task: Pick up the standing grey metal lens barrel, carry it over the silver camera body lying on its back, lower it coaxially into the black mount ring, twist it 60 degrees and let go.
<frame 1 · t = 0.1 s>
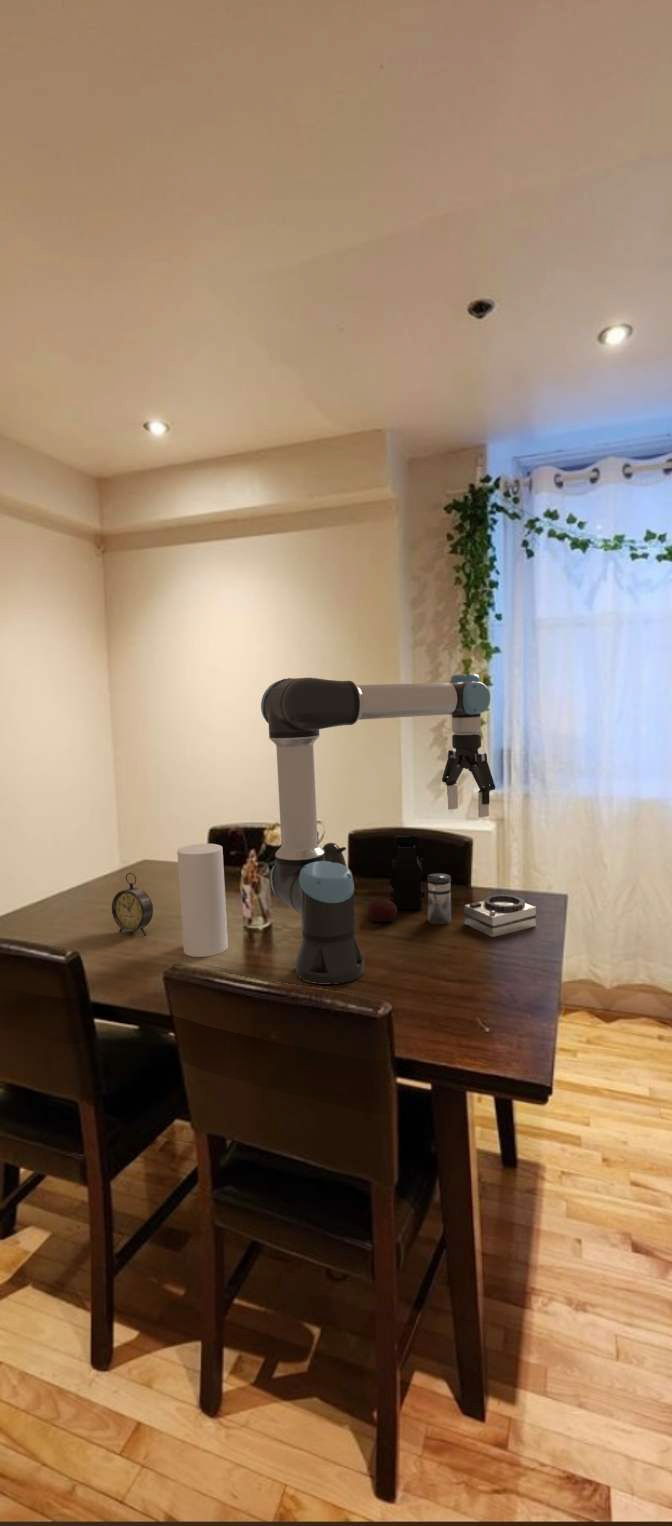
hand: (467, 812, 180), 28 cm above the table, fingers open, 13 cm apart
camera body: (499, 925, 174), on the table
lens: (439, 920, 178), on the table
camera: (407, 903, 194), on the table
tall pillar cylinder: (206, 949, 165), on the table
alarm clock: (135, 933, 178), on the table
potato: (381, 922, 180), on the table
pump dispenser: (332, 891, 208), on the table
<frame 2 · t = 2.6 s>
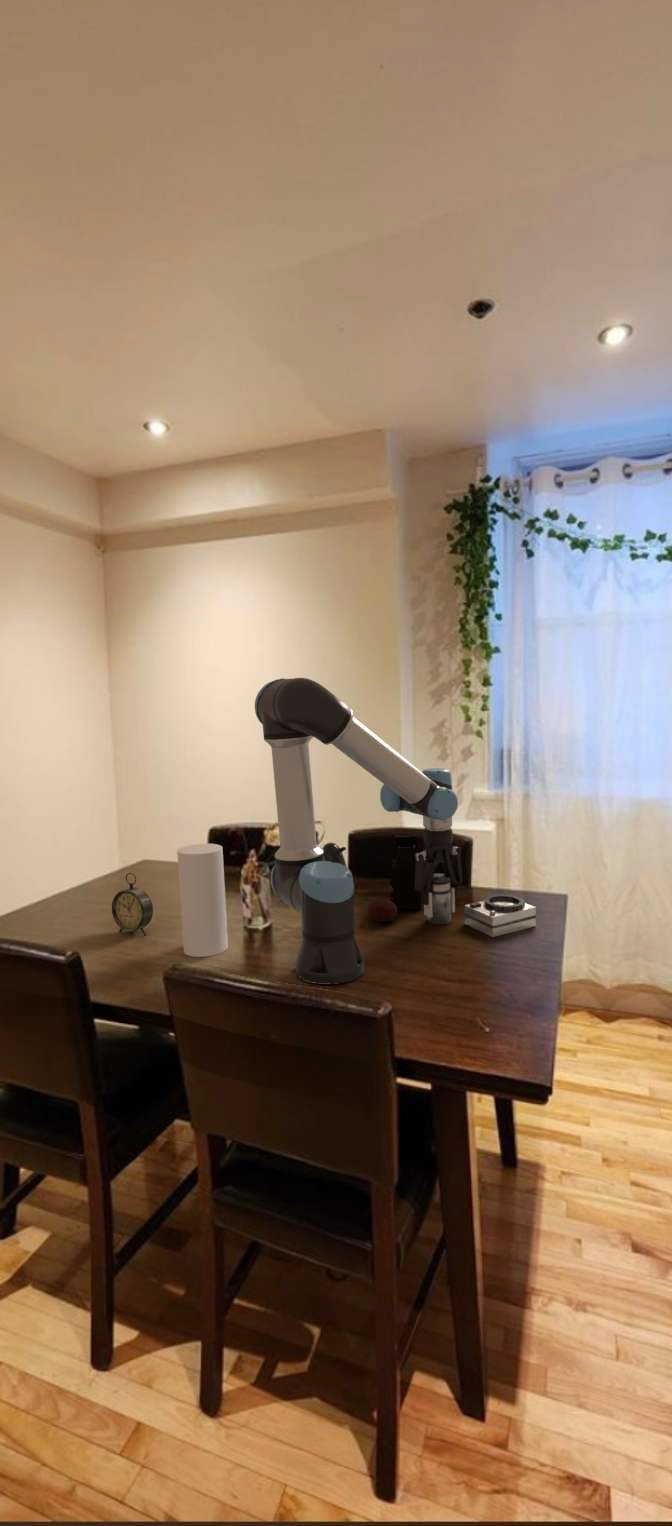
hand: (439, 913, 178), 2 cm above the table, fingers closed on lens, 6 cm apart
lens: (439, 920, 178), on the table, touching gripper
everything else where it was.
when the fingers open (7 cm above the table, at t = 8.0 s): lens stays where it is, resting on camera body.
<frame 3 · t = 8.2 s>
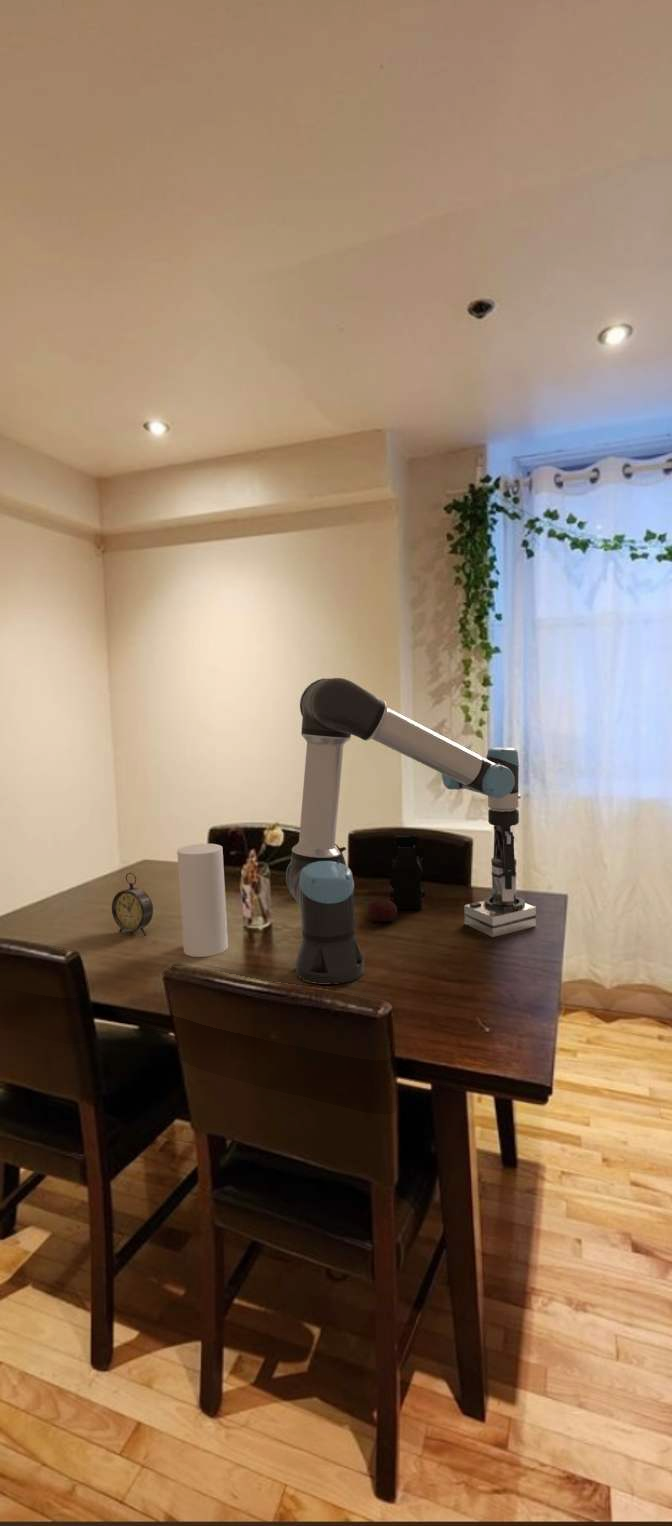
hand: (504, 894, 173), 8 cm above the table, fingers open, 9 cm apart
lens: (504, 905, 174), point 5 cm above the table, touching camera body
everything else where it was.
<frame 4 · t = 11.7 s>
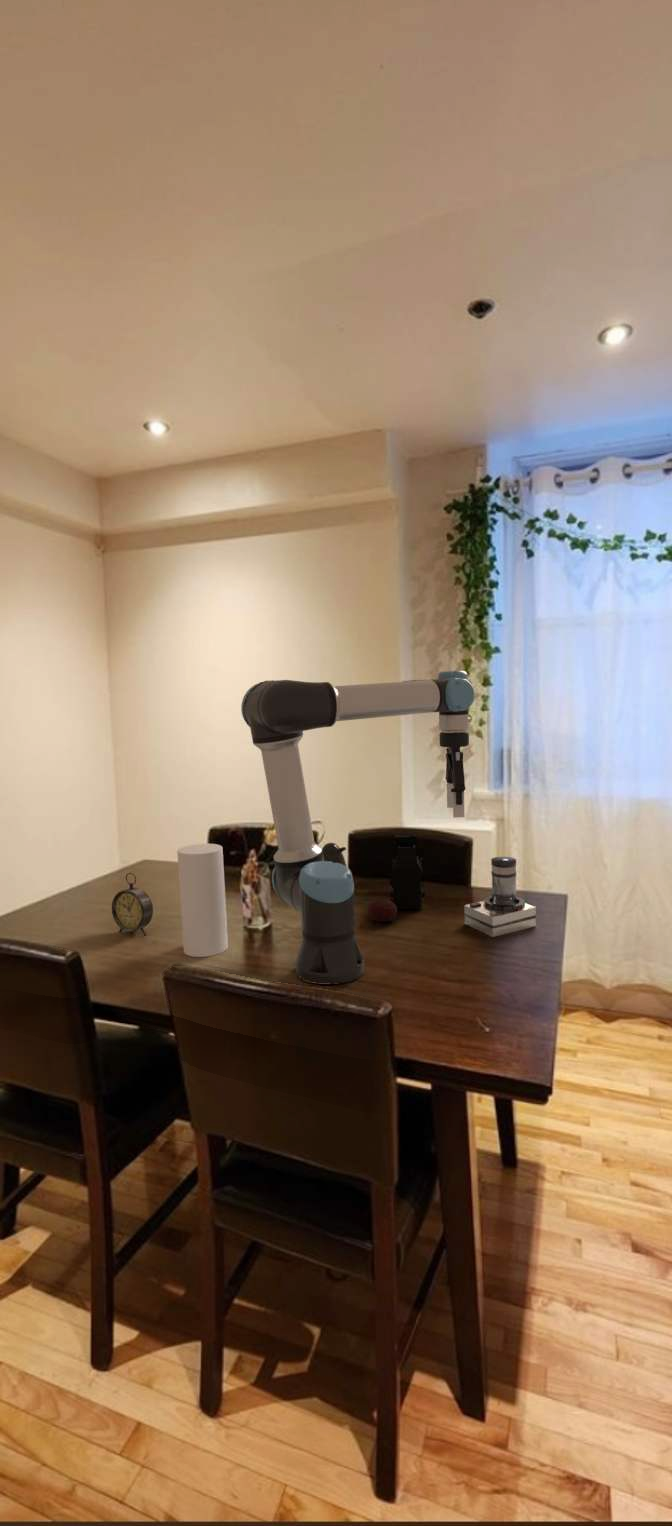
hand: (455, 812, 177), 29 cm above the table, fingers open, 13 cm apart
nothing on the table moved.
at the end: lens 0.3 cm from the target spot on the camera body, point 5.0 cm above the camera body's base; lens tilted 1°; the gripper is holding nothing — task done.
